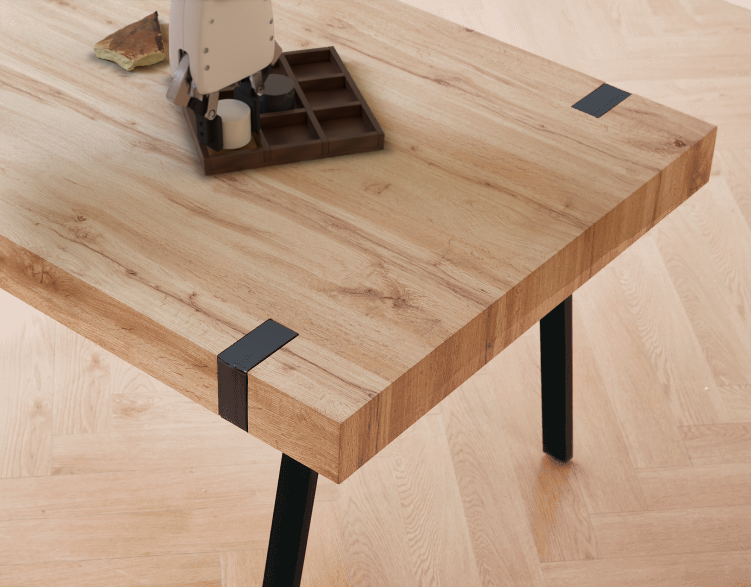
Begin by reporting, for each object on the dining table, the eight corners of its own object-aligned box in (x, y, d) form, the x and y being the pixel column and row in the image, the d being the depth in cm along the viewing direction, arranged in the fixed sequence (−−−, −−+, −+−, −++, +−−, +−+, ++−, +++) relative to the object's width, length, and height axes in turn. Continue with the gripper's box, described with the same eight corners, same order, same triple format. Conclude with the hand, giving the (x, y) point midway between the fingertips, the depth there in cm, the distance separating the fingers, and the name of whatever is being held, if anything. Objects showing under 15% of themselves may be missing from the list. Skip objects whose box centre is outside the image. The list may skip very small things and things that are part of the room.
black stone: (259, 123, 115) (258, 97, 113) (249, 102, 118) (248, 76, 116) (298, 118, 116) (298, 92, 114) (288, 97, 119) (288, 71, 117)
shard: (157, 21, 132) (156, 8, 131) (204, 41, 129) (203, 27, 127) (92, 55, 125) (90, 41, 124) (140, 77, 122) (138, 63, 121)
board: (205, 175, 108) (203, 159, 107) (171, 80, 122) (170, 65, 120) (383, 149, 113) (384, 133, 112) (333, 61, 127) (333, 45, 125)
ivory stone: (212, 152, 108) (211, 124, 106) (204, 128, 111) (202, 101, 109) (255, 146, 109) (254, 119, 107) (246, 123, 112) (245, 96, 110)
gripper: (259, -72, 105) (264, 92, 117) (120, -19, 95) (140, 153, 107) (315, -47, 101) (313, 119, 113) (176, 10, 91) (190, 185, 104)
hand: (229, 134), depth 110 cm, fingers closed on ivory stone, 4 cm apart
